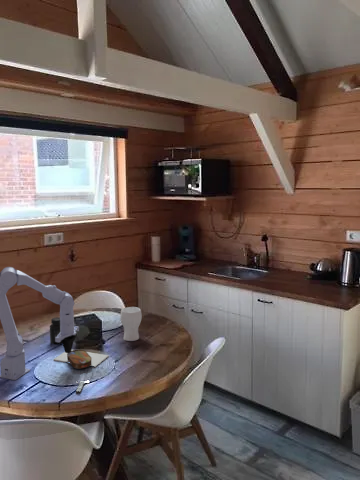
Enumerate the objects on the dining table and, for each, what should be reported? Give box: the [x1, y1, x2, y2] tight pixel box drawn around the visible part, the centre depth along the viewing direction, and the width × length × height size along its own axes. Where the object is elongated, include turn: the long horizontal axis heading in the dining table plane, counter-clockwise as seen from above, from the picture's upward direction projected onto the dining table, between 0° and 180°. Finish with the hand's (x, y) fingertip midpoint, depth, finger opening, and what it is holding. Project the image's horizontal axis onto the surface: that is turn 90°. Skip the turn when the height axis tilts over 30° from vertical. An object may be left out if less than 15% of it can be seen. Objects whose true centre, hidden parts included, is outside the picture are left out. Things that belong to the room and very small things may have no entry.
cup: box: [119, 306, 143, 342], centre depth 212 cm, size 11×11×15 cm
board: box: [53, 349, 110, 368], centre depth 189 cm, size 12×21×1 cm, turn 71°
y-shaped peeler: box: [75, 380, 91, 395], centre depth 166 cm, size 17×5×1 cm, turn 1°
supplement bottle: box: [49, 316, 62, 345], centre depth 206 cm, size 7×7×12 cm
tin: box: [67, 349, 92, 370], centre depth 184 cm, size 15×3×8 cm
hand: (68, 352), depth 181 cm, fingers closed
